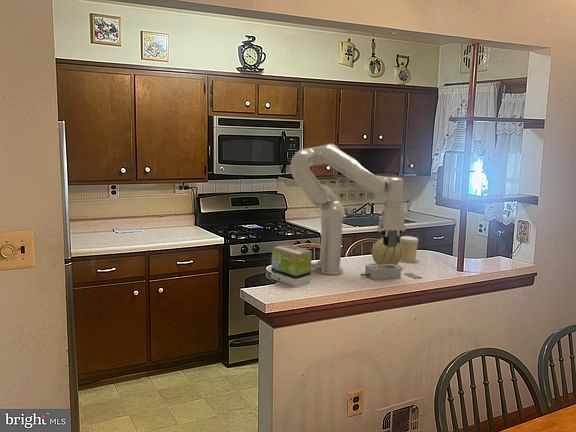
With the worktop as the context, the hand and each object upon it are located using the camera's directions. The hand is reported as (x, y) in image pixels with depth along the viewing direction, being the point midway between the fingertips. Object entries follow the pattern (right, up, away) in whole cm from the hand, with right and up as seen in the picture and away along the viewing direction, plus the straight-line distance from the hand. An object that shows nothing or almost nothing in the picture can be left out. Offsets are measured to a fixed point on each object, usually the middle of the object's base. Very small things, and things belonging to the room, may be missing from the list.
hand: (390, 244), depth 245 cm
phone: (+11, -16, +6) cm, 20 cm away
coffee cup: (+15, -10, +34) cm, 38 cm away
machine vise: (-5, -15, +3) cm, 16 cm away
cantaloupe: (+2, -12, +20) cm, 24 cm away
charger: (0, -1, 0) cm, 1 cm away
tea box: (-46, -16, -10) cm, 49 cm away
